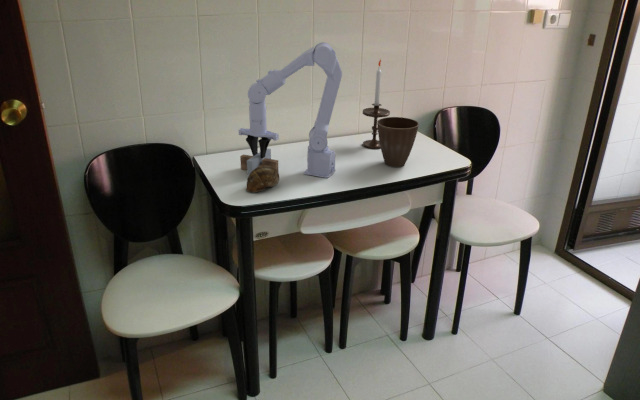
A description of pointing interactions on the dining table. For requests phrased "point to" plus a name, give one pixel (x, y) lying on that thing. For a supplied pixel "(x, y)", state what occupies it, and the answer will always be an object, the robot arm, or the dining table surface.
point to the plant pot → (396, 139)
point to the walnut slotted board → (264, 163)
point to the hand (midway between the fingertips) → (259, 156)
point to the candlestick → (375, 114)
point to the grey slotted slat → (257, 161)
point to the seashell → (262, 178)
